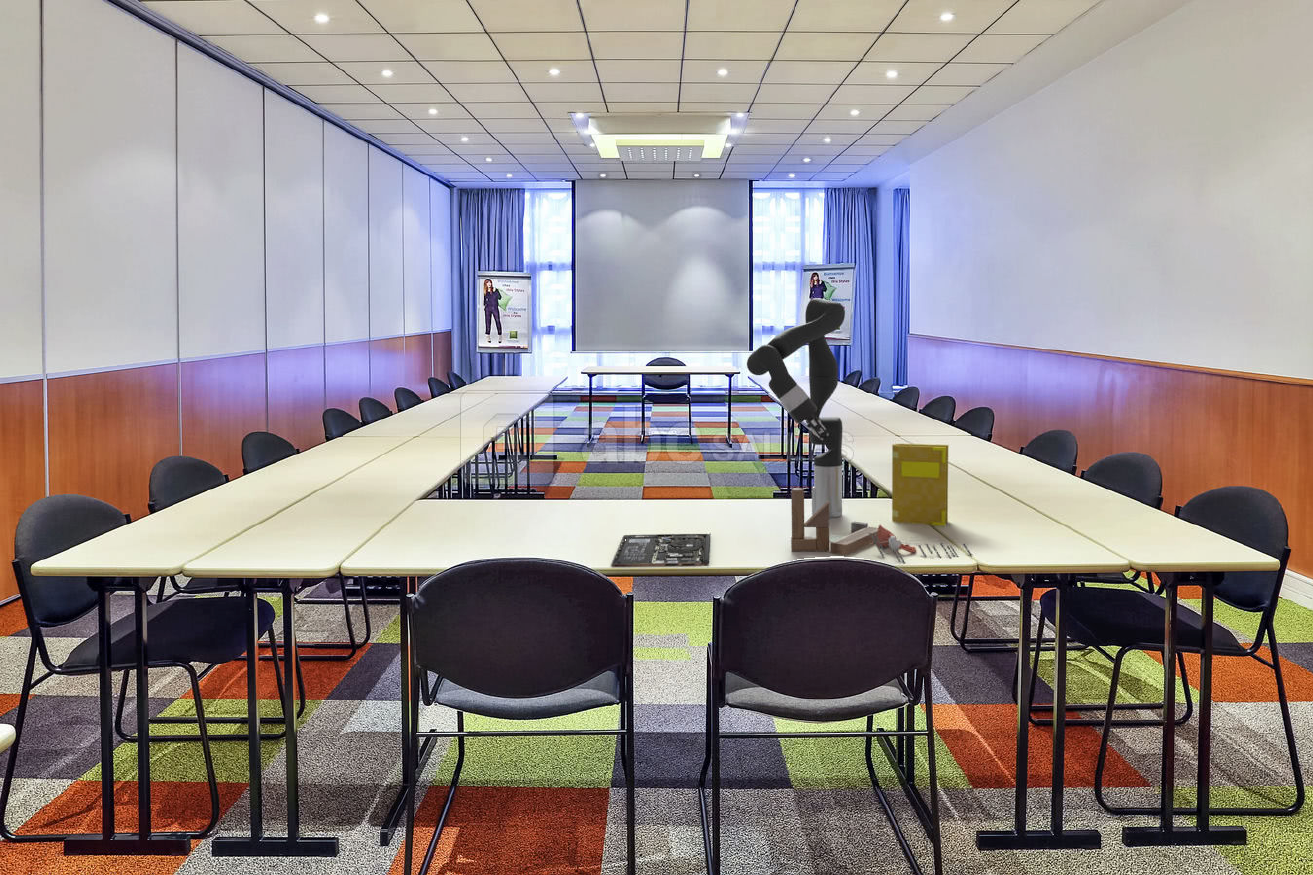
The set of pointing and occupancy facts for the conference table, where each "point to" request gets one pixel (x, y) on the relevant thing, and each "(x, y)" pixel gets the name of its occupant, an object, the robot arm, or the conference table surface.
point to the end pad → (833, 537)
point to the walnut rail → (854, 539)
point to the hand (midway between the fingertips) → (832, 447)
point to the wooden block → (808, 525)
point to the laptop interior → (663, 550)
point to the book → (920, 484)
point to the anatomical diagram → (889, 539)
